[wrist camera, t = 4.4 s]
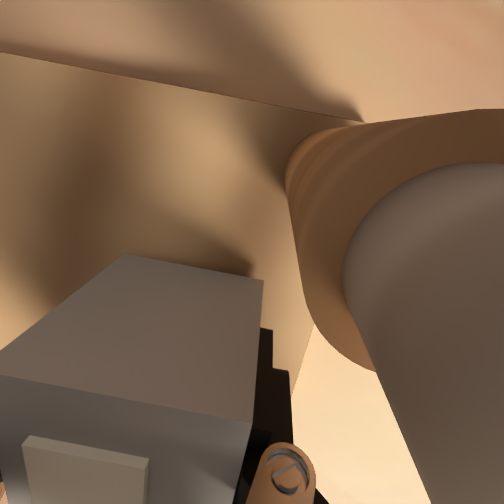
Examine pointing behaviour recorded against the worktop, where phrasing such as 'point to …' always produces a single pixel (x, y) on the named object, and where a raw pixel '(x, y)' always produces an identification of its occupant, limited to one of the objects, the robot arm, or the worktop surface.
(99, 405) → the block
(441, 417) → the grey-capped wooden cylinder
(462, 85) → the worktop surface
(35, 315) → the panel
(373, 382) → the worktop surface
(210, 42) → the worktop surface
